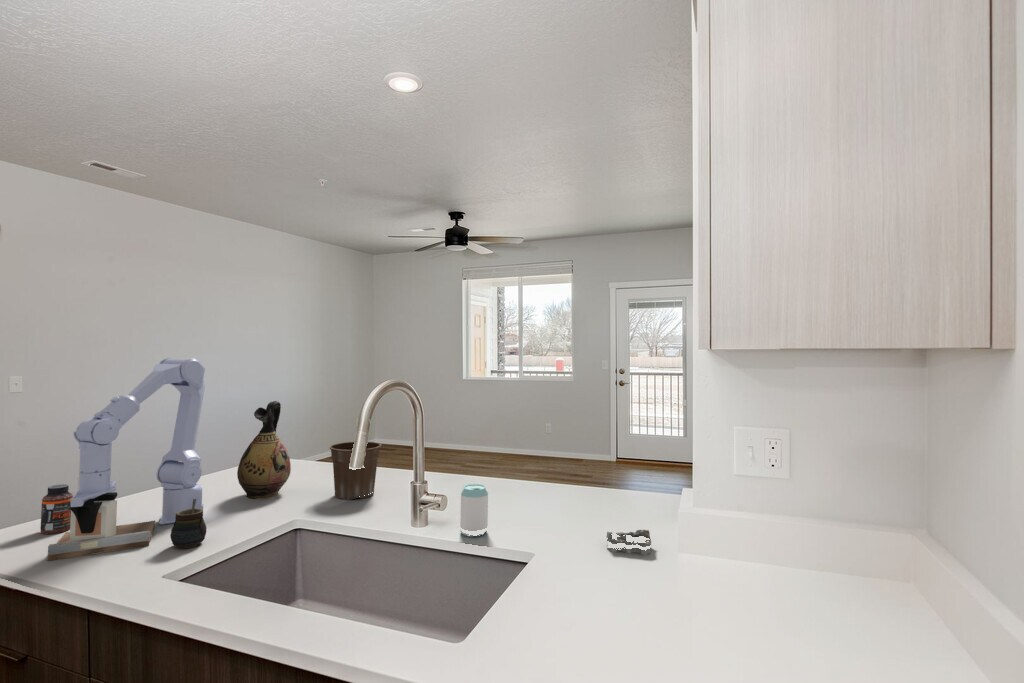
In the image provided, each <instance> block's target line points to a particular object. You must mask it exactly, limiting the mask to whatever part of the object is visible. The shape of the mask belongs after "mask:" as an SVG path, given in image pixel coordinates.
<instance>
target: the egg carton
mask: <svg viewBox="0 0 1024 683" xmlns="http://www.w3.org/2000/svg"><path fill="white" fill-rule="evenodd" d="M615 533H616V534H617V535H619V536H620V537H617V540H615V539H612V535H611V534H613V531H607V532H606V542H607V541H609V542H611V543H612V544H617V543H625V544H626V545H632V544H633V545H636V544H638V545H640V546H642V547H646V546H650V545H651V546H652V539H651V534H650V530H649V529H647V530H646V529H637V530H636V531H635V532H634V531H629V532H622V531H621V532H615ZM623 535H625V536H623ZM626 535H631V536H632V537H639V536H644V537H646V538H649V539H650V540H646V541H645V542H646V543H638V542H637V543H634V541H633V542H632V543H631V542H627V541H626ZM607 538H608V539H607ZM647 541H649V542H647ZM624 548H625V547H624ZM624 548H622V549H621V548H620V549H621V550H618V549H619V548H618V549H617V548H616V549H617V550H616V549H615V548H614V549H613V548H607V547H606V550H608V551H611V552H612V553H617V552H624V553H626V554H629V555H631V554H633V553H638V554H640V555H642V556H646V555H649V554H651V550H652V548H651V549H647V550H646V551H645V550H641V549H639V548H632V549H626V548H625V549H624Z"/></svg>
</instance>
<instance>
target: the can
mask: <svg viewBox="0 0 1024 683" xmlns="http://www.w3.org/2000/svg"><path fill="white" fill-rule="evenodd" d="M488 512H489V492H488V490H487V488H486V485H483V484H478V483H473V484H466V485H464V486H463V489H462V491H461V492H460V520H459V521H460V523H459V524H460V525H459V526H460V527H461V528H462V529H464V530H468V531H477V530H482V529H485V528H487V526H488V525H489V524H488V523H489V520H488V519H489V518H488V517H489V513H488ZM460 527H459V528H460ZM459 532H460V533H461V534H462V535H463V536H465V537H469V538H474V537H473V535H470V536H467V535H469V534H466V533H463V532H462V531H461V530H460V529H459ZM479 535H482V534H479ZM479 535H477V536H479ZM482 536H483V535H482Z"/></svg>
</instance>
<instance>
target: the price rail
mask: <svg viewBox="0 0 1024 683" xmlns="http://www.w3.org/2000/svg"><path fill="white" fill-rule="evenodd" d="M149 537H150V531H144V532H136V533H129V534H122V535H115V536H108V537H100V538H93V539H86V540H79V541H72V542H65V543H58V542H57V543H52V544H49V545H48V546H47V556H48V555H54V554H60V553H67V552H74V551H81V550H88V549H94V548H101V547H108V546H115V545H122V544H128V543H135V542H142V541H149Z"/></svg>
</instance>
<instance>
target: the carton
mask: <svg viewBox="0 0 1024 683" xmlns="http://www.w3.org/2000/svg"><path fill="white" fill-rule="evenodd" d="M94 502H103V503H102V504H101V506H100V508H99V510H98V513H97V517H96V523H95V527H94V531H93V532H92V533H81V531H80V527H79V524H78V521H77V518H76V516H75V515H74V513H73V512H72V511H71V525H70V529H69V532H70V542H72V541H79V540H86V539H93V538H100V537H108V536H113V535H115V534H116V526H117V514H118V512H117V511H118V500H116V499H115V500H109V501H94Z"/></svg>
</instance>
